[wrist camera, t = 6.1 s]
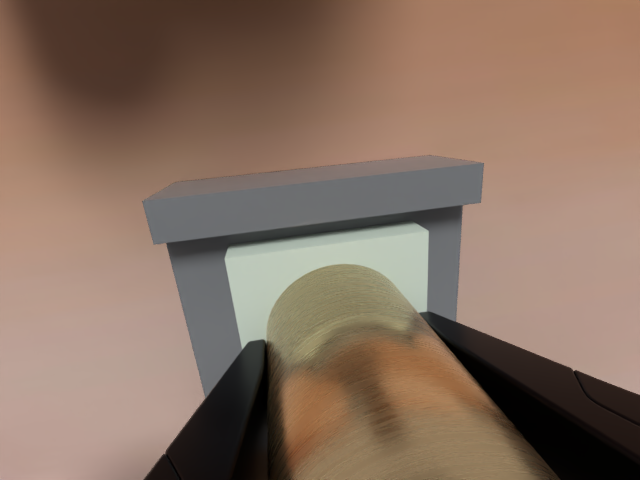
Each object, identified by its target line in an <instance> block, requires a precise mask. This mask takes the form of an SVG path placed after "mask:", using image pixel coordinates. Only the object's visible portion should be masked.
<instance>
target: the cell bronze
mask: <svg viewBox="0 0 640 480" xmlns="http://www.w3.org/2000/svg"><path fill="white" fill-rule="evenodd" d="M266 352H267V456H268V480H560V479H559V478H558V476H557V475H556V474H555V473H554V472H553V470H552V469H551V468H550V467H549V466H548V465H547V463H546V462H545V461H544V460H543V459H542V458H541V456H540V455H539V454H538V453H537V452H536V450H535V449H534V448H533V447H532V446H531V445H530V443H529V442H528V441H527V440H526V439H525V438H524V436H523V435H522V434H521V433H520V432H519V430H518V429H517V428H516V427H515V426H514V425H513V423H512V422H511V421H510V420H509V419H508V418H507V416H506V415H505V414H504V413H503V412H502V410H501V409H500V408H499V407H498V406H497V405H496V403H495V402H494V401H493V400H492V399H491V398H490V396H489V395H488V394H487V393H486V392H485V390H484V389H483V388H482V387H481V386H480V385H479V383H478V382H477V381H476V380H475V379H474V378H473V376H472V375H471V374H470V373H469V372H468V370H467V369H466V368H465V367H464V366H463V365H462V363H461V362H460V361H459V360H458V359H457V358H456V356H455V355H454V354H453V353H452V352H451V350H450V349H449V348H448V347H447V346H446V345H445V343H444V342H443V341H442V340H441V339H440V338H439V336H438V335H437V334H436V333H435V332H434V330H433V329H432V328H431V327H430V326H429V325H428V323H427V322H426V321H425V320H424V319H423V318H422V316H421V315H420V314H419V313H418V312H417V310H416V309H415V308H414V307H413V306H412V305H411V303H410V302H409V301H408V300H407V299H406V298H405V296H404V295H403V294H402V293H401V292H400V290H399V289H398V288H397V287H396V286H395V285H394V283H393V282H392V281H390V280H389V279H388V278H387V277H386V276H384V275H383V274H381V273H380V272H378V271H376V270H373V269H371V268H368V267H365V266H361V265H355V264H336V265H330V266H325V267H322V268H319V269H316V270H313V271H311V272H309V273H307V274H305V275H303V276H302V277H300V278H299V279H297V280H296V281H294V282H293V283H292V284H291V285H290V286H288V287H287V289H286V290H285V291H284V292H283V293H282V294H281V295H280V297H279V298H278V299H277V301H276V303H275V304H274V306H273V308H272V310H271V313H270V315H269V319H268V323H267V331H266Z"/></svg>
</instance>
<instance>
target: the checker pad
mask: <svg viewBox="0 0 640 480" xmlns="http://www.w3.org/2000/svg"><path fill="white" fill-rule="evenodd" d="M428 243H429V231H428V230H426V229H425V228H423V227H421V226H420V225H418V224H416V223H415V222H413V221H407V222H399V223H391V224H384V225H376V226H369V227H361V228H353V229H346V230H338V231H331V232H323V233H315V234H308V235H300V236H292V237H285V238H277V239H270V240H262V241H254V242H247V243H239V244H232V245H229V246H228V249H227V252H226V256H225V264H226V269H227V274H228V279H229V284H230V290H231V295H232V300H233V305H234V310H235V315H236V320H237V325H238V331H239V336H240V341H241V346H242V349H243V348H244V347H245V345H246V344H247V343H248V342H249V341H254V340H260V339H264V340H265V341H266V331H267V323H268V319H269V315H270V313H271V310H272V308H273V306H274V304H275V303H276V301H277V299H278V298H279V297H280V295H281V294H282V293H283V292H284V291H285V290H286V289H287V287H288V286H290V285H291V284H292V283H293V282H294V281H296V280H297V279H299V278H300V277H302V276H303V275H305V274H307V273H309V272H311V271H313V270H316V269H319V268H322V267H325V266H330V265H336V264H355V265H361V266H365V267H368V268H371V269H373V270H376V271H378V272H380V273H381V274H383V275H384V276H386V277H387V278H388V279H389V280H390V281H392V282H393V283H394V285H395V286H396V287H397V288H398V289H399V290H400V292H401V293H402V294H403V295H404V296H405V298H406V299H407V300H408V301H409V302H410V303H411V305H412V306H413V307H414V308H415V309H416V310H417V312H418V313H420V312H426V311H427V286H428Z"/></svg>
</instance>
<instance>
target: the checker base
mask: <svg viewBox="0 0 640 480" xmlns="http://www.w3.org/2000/svg"><path fill="white" fill-rule="evenodd" d="M483 168H484V163H481V162H474V161H467V160H460V159H453V158H446V157H439V156H432V155H427V156H417V157H408V158H398V159H389V160H380V161H370V162H361V163H351V164H342V165H333V166H323V167H314V168H304V169H295V170H286V171H276V172H267V173H257V174H248V175H238V176H229V177H220V178H210V179H201V180H191V181H182V182H175V183H173V184H171V185H169V186H168V187H166V188H164V189H162V190H161V191H159V192H157V193H155V194H154V195H152V196H150V197H148V198H147V199H145V200H143V201H142V202H143V206H144V210H145V213H146V217H147V221H148V225H149V228H150V232H151V236H152V240H153V243H154V244H161V243H166V244H167V248H168V252H169V256H170V260H171V264H172V268H173V272H174V276H175V280H176V284H177V288H178V292H179V296H180V299H181V303H182V307H183V311H184V315H185V319H186V323H187V327H188V331H189V335H190V339H191V343H192V347H193V351H194V355H195V359H196V363H197V367H198V370H199V374H200V378H201V382H202V386H203V390H204V394H205V398H206V397H207V396H208V394H209V393H210V392H211V390H212V389H213V388H214V386H215V385H216V384H217V382H218V381H219V380H220V378H221V377H222V376H223V374H224V373H225V372H226V370H227V369H228V368H229V366H230V365H231V364H232V363H233V361H234V360H235V359H236V357H237V356H238V355H239V353H240V352H241V351H242V346H241V341H240V336H239V331H238V325H237V320H236V315H235V310H234V305H233V300H232V295H231V290H230V284H229V279H228V274H227V269H226V264H225V256H226V252H227V249H228V246H229V245H232V244H239V243H247V242H254V241H262V240H270V239H277V238H285V237H292V236H300V235H308V234H315V233H323V232H331V231H338V230H346V229H353V228H361V227H369V226H376V225H384V224H391V223H399V222H407V221H413V222H415V223H416V224H418V225H420V226H421V227H423V228H425V229H426V230H428V231H429V243H428V286H427V311H430V312H433V313H435V314H438V315H440V316H443V317H445V318H448V319H450V320H453V321H455V322H456V312H457V295H458V277H459V260H460V242H461V225H462V207H463V205H467V204H475V203H481V194H482V181H483Z"/></svg>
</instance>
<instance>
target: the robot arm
mask: <svg viewBox="0 0 640 480" xmlns="http://www.w3.org/2000/svg"><path fill="white" fill-rule="evenodd" d="M419 314H420V315H421V316H422V318H423V319H424V320H425V321H426V322H427V323H428V325H429V326H430V327H431V328H432V329H433V330H434V332H435V333H436V334H437V335H438V336H439V338H440V339H441V340H442V341H443V342H444V343H445V345H446V346H447V347H448V348H449V349H450V350H451V352H452V353H453V354H454V355H455V356H456V358H457V359H458V360H459V361H460V362H461V363H462V365H463V366H464V367H465V368H466V369H467V370H468V372H469V373H470V374H471V375H472V376H473V378H474V379H475V380H476V381H477V382H478V383H479V385H480V386H481V387H482V388H483V389H484V390H485V392H486V393H487V394H488V395H489V396H490V398H491V399H492V400H493V401H494V402H495V403H496V405H497V406H498V407H499V408H500V409H501V410H502V412H503V413H504V414H505V415H506V416H507V418H508V419H509V420H510V421H511V422H512V423H513V425H514V426H515V427H516V428H517V429H518V430H519V432H520V433H521V434H522V435H523V436H524V438H525V439H526V440H527V441H528V442H529V443H530V445H531V446H532V447H533V448H534V449H535V450H536V452H537V453H538V454H539V455H540V456H541V458H542V459H543V460H544V461H545V462H546V463H547V465H548V466H549V467H550V468H551V469H552V470H553V472H554V473H555V474H556V475H557V476H558V478H559V479H560V480H640V395H638V394H636V393H633V392H630V391H627V390H625V389H622V388H620V387H617V386H614V385H612V384H609V383H607V382H604V381H602V380H599V379H596V378H594V377H592V376H589V375H587V374H584V373H582V372H579V371H577V370H575V371H573V370H572V369H571V368H569V367H567V366H564V365H562V364H559V363H557V362H554V361H552V360H549V359H547V358H544V357H542V356H539V355H537V354H534V353H532V352H529V351H527V350H525V349H522V348H520V347H517V346H515V345H512V344H510V343H507V342H505V341H502V340H500V339H497V338H495V337H492V336H490V335H487V334H485V333H482V332H480V331H477V330H475V329H472V328H470V327H467V326H465V325H463V324H460V323H458V322H455V321H453V320H450V319H448V318H445V317H443V316H440V315H438V314H435V313H433V312H430V311H426V312H420V313H419ZM144 480H268V456H267V352H266V341H265V340H264V339H260V340H254V341H249V342H248V343H247V344H246V345H245V347H244V348H243V349H242V351H241V352H240V353H239V355H238V356H237V357H236V359H235V360H234V361H233V363H232V364H231V365H230V366H229V368H228V369H227V370H226V372H225V373H224V374H223V376H222V377H221V378H220V380H219V381H218V382H217V384H216V385H215V386H214V388H213V389H212V390H211V392H210V393H209V394H208V396H207V397H206V398H205V400H204V401H203V402H202V403H201V405H200V406H199V407H198V409H197V410H196V411H195V413H194V414H193V415H192V417H191V418H190V419H189V421H188V422H187V423H186V425H185V426H184V427H183V429H182V430H181V431H180V433H179V434H178V435H177V437H176V438H175V439H174V441H173V442H172V443H171V444H170V446H169V447H168V448H167V450H166V452H165V454H163V455H162V456H161V457H160V459H159V460H158V461H157V463H156V464H155V465H154V467H153V468H152V469H151V471H150V472H149V473H148V474H147V476H146V477H145V478H144Z"/></svg>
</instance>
